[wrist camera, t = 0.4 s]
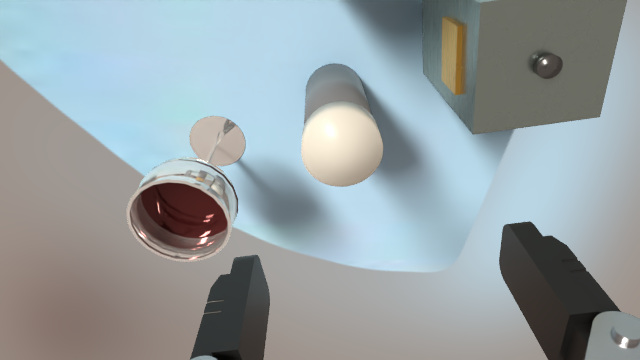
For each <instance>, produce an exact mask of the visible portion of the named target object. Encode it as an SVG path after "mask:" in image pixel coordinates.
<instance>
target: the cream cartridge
mask: <svg viewBox="0 0 640 360" xmlns="http://www.w3.org/2000/svg"><path fill="white" fill-rule="evenodd" d="M301 154H302V160H303V163H304V165H305V167H306V169H307V170H308V172H309V173H310V174H311V175H312V176H313V177H314V178H316V179H317V180H319V181H320V182H322V183H325V184H328V185H331V186H341V187H342V186H350V185H354V184H357V183H360V182H362V181H363V180H365V179H367V178H368V177H369V176H371V175H372V174H373V173H374V171H375V170H376V169H377V167H378V166H379V164H380V162H381V159H382V156H383V142H382V138H381V135H380V132H379V129H378V126H377V123H376V121H375V119H374V118H373V116H372V113H371V110H370V107H369V104H368V101H367V98H366V95H365V92H364V89H363V86H362V83H361V80H360V78H359V76H358V75H357V74H356V73H355V71H353V70H352V69H351V68H349V67H347V66H345V65H342V64H328V65H325V66H322V67H320V68H319V69H317V70H316V71H315V72H314V73H313V74H312V75H311V77H310V78H309V80H308V83H307V86H306V99H305V120H304V128H303V133H302V148H301Z"/></svg>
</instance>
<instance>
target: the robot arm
mask: <svg viewBox="0 0 640 360" xmlns="http://www.w3.org/2000/svg"><path fill="white" fill-rule="evenodd" d="M499 264H500V270H501V274H502V276H503V279H504V281H505V283H506V284H507V286H508V288H509V290H510V292H511V293H512V295H513V297H514V299H515V301H516V302H517V304H518V306H519V308H520V310H521V311H522V313H523V315H524V317H525V318H526V320H527V322H528V324H529V326H530V328H531V329H532V331H533V333H534V335H535V337H536V338H537V340H538V342H539V344H540V346H541V347H542V349H543V351H544V353H545V355H546V356H547V358H548V360H640V319H639V318H637V317H635V316H633V315H630V314H627V313H623V312H621V311H620V310H619V309H618V307H617V306H616V305H615V304H614V302H613V301H612V300H611V299H610V298H609V297H608V295H607V294H606V293H605V291H604V290H603V289H602V288H601V287H600V285H599V284H598V283H597V282H596V280H595V279H594V278H593V277H592V276H591V274H590V273H589V272H587V271H586V268H585V267H584V266H583V265H582V263H581V262H580V261H578V260H577V257H576V256H575V255H574V254H573V252H572V251H571V250H570V249H569V248H568V246H567V245H565V244H564V243H562V242H560V241H559V240H557V239H556V238H554V237H553V236H542V235H541V233H540V232H539V231H538V229H537V228H536V227H535V225H534V224H533V223H531V222H522V223H514V224H506V225H505V226H504V227H503V232H502V242H501V250H500V258H499ZM269 306H270V296H269V289H268V285H267V282H266V278H265V275H264V272H263V269H262V265H261V262H260V259H259V257H258V255H252V256H244V257H236V258H235V259H234V261H233V265H232V269H231V273H230V274H226V275H220V277H219V278H218V279H217V281H216V282H215V283H214V284H213V286H212V287H211V290H210V294H209V297H208V300H207V304H206V307H205V310H204V315H203V317H202V321H201V324H200V328H199V331H198V335H197V338H196V342H195V345H194V349H193V352H192V355H191V358H190V360H263V358H264V349H265V340H266V332H267V324H268V315H269Z"/></svg>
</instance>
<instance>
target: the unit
mask: <svg viewBox="0 0 640 360" xmlns="http://www.w3.org/2000/svg"><path fill="white" fill-rule="evenodd" d="M626 2H627V0H422V6H423V73H424V75H425V76H426V77H427V78H428V80H429V81H430V82H431V83H432V84H433V86H434V87H435V88H436V89H437V91H438V92H439V93H440V94H441V96H442V97H443V98H444V99H445V101H446V102H447V103H448V104H449V105H450V107H451V108H452V109H453V110H454V112H455V113H456V114H457V115H458V117H459V118H460V119H461V120H462V122H463V123H464V124H465V125H466V126H467V128H468V129H469V130H470V131H471V133H472V134H480V133H487V132H494V131H502V130H509V129H516V128H523V127H530V126H538V125H545V124H552V123H559V122H567V121H574V120H581V119H588V118H596V117H600V114H601V109H602V105H603V101H604V97H605V92H606V88H607V84H608V80H609V75H610V71H611V67H612V62H613V58H614V54H615V49H616V45H617V41H618V37H619V32H620V28H621V24H622V19H623V15H624V11H625V6H626Z"/></svg>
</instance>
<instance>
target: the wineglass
mask: <svg viewBox="0 0 640 360" xmlns="http://www.w3.org/2000/svg"><path fill="white" fill-rule="evenodd" d="M190 144H191V147H192V149H193V151H194V152H195V154H196V155H197V156H198V157H199V158H200V159H199V158H191V157H181V158H175V159H171V160H167V161H165V162H163V163H161V164H160V165H158V166H156V167H154V168H153V169H152V170H151V171H150V172H148V174H147V175H146V176H145V177H144V179H143V180H142V181H141V182H140V186H139V189H138V190H137V191H136V193H135V194H134V195H133V196H132V197H131V199H130V200H129V203H128V207H127V211H126V215H127V221H128V226H129V228H130V229H131V231H132V233H133V235H134V236H135V238H136V239H137V240H138V241H139V242H140V243H141V244H142V245H143V246H144V247H145V248H147V249H149V250H150V251H152V252H154V253H155V254H157V255H159V256H161V257H165V258H168V259H171V260H174V261H186V262H193V261H199V260H205V259H207V258H209V257H211V256H213V255H215V254H217V253H218V252H219V251H220V250H221V249H222V248H223V247H225V245H226V244H227V242H228V239H229V237H230V235H231V228H232V226H233V224H234V221H235V219H236V217H237V213H238V198H237V195H236V192H235V190H234V187H233V185H232V182H231V180H230V179H229V178H228V177H227V175H226V174H225V173H224V172H223V171H222V170H221V169H219V168H218V167H217V166H225V165H230V164H232V163H234V162H236V161H237V160H238V159H239V158H240V157H241V156H242V154H243V152H244V150H245V139H244V136H243V133H242V131H241V130H240V129H239V127H238V126H237V125H236V124H234V123H233V122H232V121H230V120H228V119H226V118H223V117H218V116H210V117H205V118H203V119H201V120H199V121H197V122H196V123H195V125H194V126H193V127H192V129H191V132H190ZM215 165H217V166H215Z"/></svg>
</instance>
